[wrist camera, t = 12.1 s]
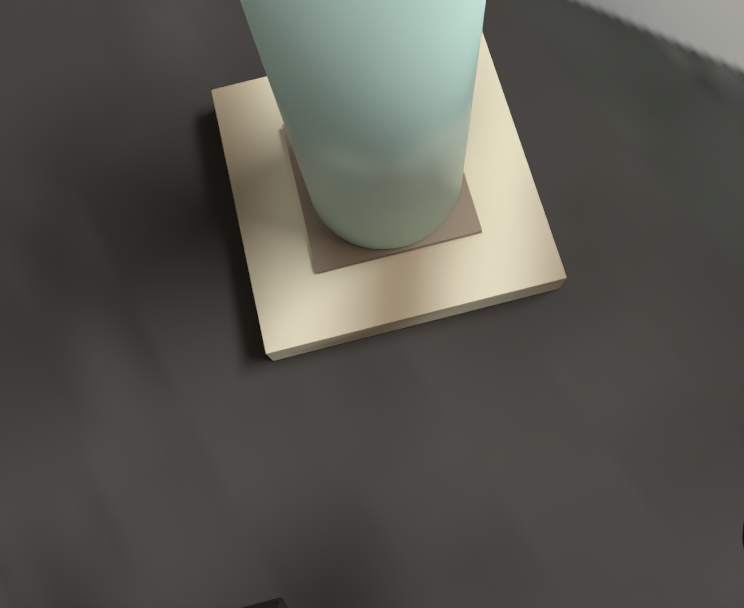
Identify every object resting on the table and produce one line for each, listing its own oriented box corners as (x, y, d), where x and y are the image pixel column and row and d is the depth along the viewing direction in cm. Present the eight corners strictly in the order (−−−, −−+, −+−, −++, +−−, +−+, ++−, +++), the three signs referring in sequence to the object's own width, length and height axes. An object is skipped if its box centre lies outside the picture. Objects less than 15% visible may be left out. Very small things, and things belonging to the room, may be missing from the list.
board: (273, 361, 23) (264, 352, 22) (220, 108, 26) (209, 87, 24) (558, 288, 23) (568, 275, 22) (476, 44, 26) (480, 19, 25)
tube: (327, 267, 22) (212, -34, 10) (293, 131, 24) (156, -278, 11) (481, 226, 22) (560, -125, 10) (437, 93, 24) (457, -356, 11)
